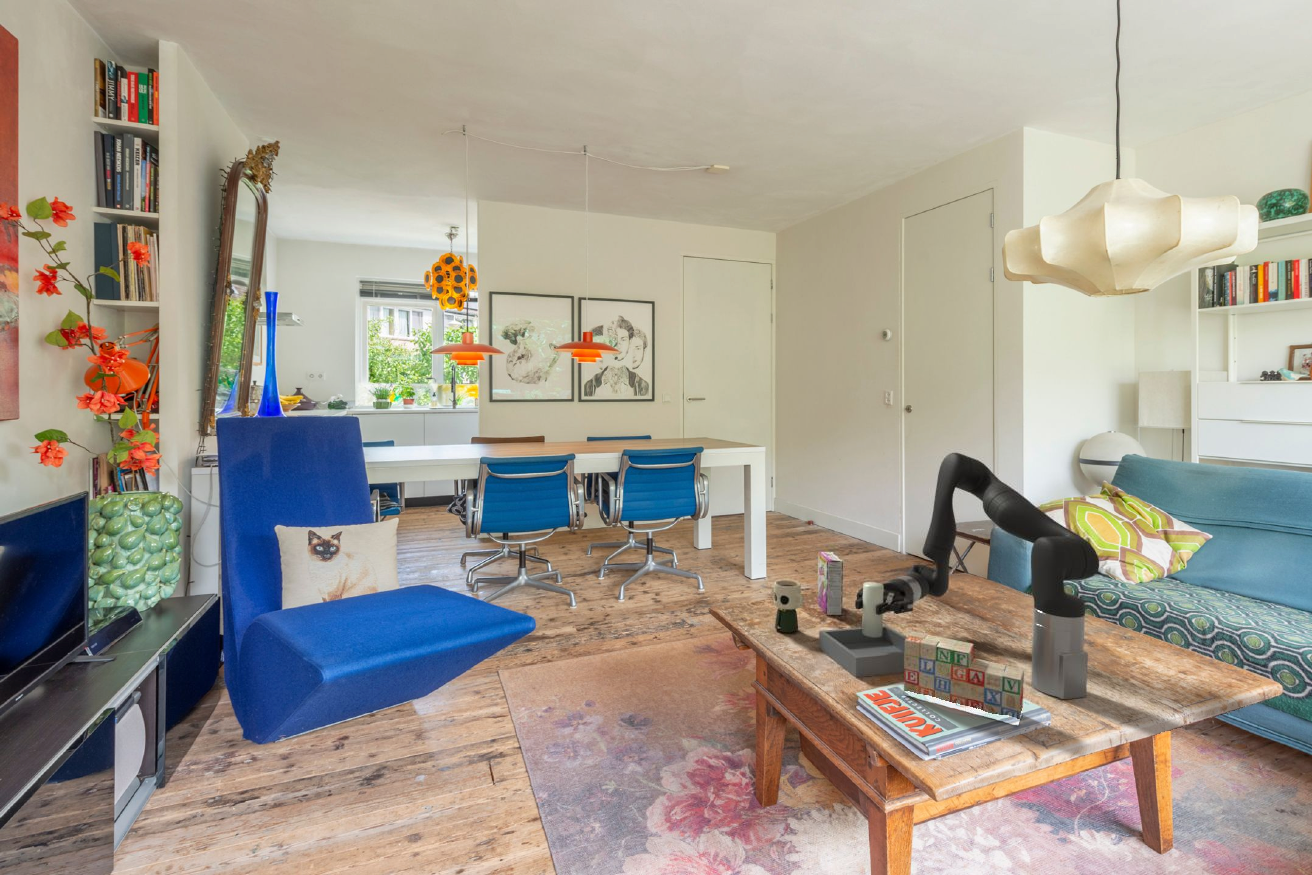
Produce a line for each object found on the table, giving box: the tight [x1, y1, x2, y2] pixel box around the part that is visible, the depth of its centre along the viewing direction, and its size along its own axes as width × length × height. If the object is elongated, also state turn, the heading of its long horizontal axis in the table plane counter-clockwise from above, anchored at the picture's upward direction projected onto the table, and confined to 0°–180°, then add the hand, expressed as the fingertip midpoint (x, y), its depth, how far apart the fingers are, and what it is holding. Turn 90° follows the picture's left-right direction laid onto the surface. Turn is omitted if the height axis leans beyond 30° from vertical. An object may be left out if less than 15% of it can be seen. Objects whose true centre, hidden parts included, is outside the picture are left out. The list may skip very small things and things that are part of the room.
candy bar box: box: [817, 551, 844, 616], centre depth 184 cm, size 11×5×16 cm, turn 179°
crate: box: [818, 624, 908, 678], centre depth 149 cm, size 17×19×4 cm
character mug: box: [771, 579, 804, 633], centre depth 167 cm, size 11×7×13 cm, turn 36°
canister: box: [861, 581, 884, 637], centre depth 148 cm, size 5×5×12 cm
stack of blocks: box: [903, 631, 1025, 719], centre depth 126 cm, size 21×6×12 cm, turn 53°
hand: (867, 607), depth 147 cm, fingers closed on canister, 4 cm apart
